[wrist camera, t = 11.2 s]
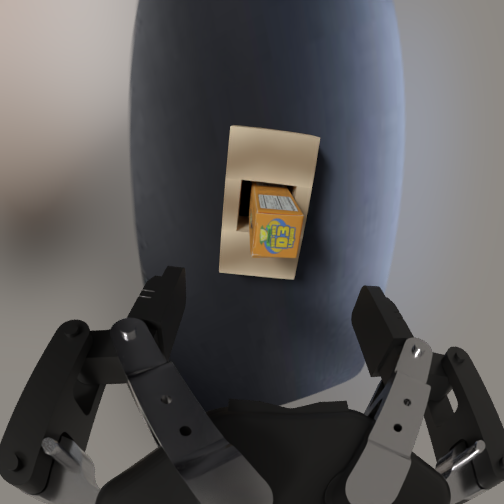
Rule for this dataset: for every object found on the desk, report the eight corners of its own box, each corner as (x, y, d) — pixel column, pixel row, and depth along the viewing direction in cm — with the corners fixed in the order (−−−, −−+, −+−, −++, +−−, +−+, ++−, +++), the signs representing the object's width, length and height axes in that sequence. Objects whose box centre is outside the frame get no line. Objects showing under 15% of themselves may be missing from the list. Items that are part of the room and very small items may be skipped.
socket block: (234, 125, 23) (230, 126, 20) (310, 135, 24) (319, 137, 20) (223, 252, 29) (219, 272, 26) (289, 259, 30) (293, 279, 26)
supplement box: (283, 213, 27) (297, 263, 18) (248, 210, 27) (244, 259, 18) (288, 180, 26) (305, 216, 17) (252, 177, 26) (249, 210, 17)
